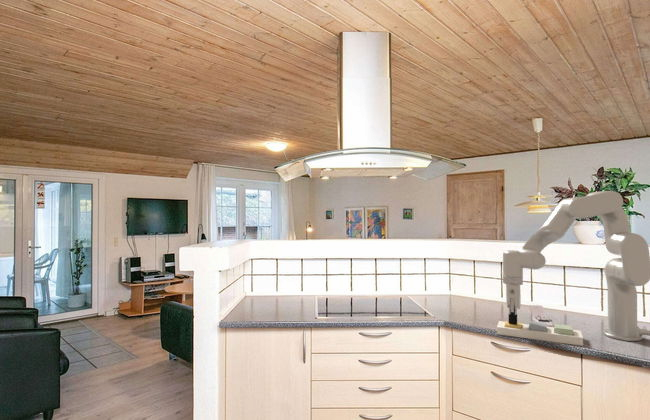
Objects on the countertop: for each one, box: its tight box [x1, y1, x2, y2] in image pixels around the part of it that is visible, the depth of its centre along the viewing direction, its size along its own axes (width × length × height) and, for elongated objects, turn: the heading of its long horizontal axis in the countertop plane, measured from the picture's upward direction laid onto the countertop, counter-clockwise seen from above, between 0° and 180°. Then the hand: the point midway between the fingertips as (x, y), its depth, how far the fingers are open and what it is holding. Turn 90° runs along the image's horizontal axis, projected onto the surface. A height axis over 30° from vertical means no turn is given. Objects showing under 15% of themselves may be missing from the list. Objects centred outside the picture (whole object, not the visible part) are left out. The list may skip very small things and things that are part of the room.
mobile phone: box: [528, 304, 554, 327], centre depth 176 cm, size 6×6×25 cm
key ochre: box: [505, 320, 523, 329], centre depth 163 cm, size 6×6×2 cm
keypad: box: [496, 320, 584, 346], centre depth 159 cm, size 30×10×3 cm, turn 61°
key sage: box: [554, 323, 574, 335], centre depth 154 cm, size 6×6×2 cm
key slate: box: [529, 320, 547, 332], centre depth 159 cm, size 6×6×2 cm
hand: (512, 323), depth 163 cm, fingers closed
